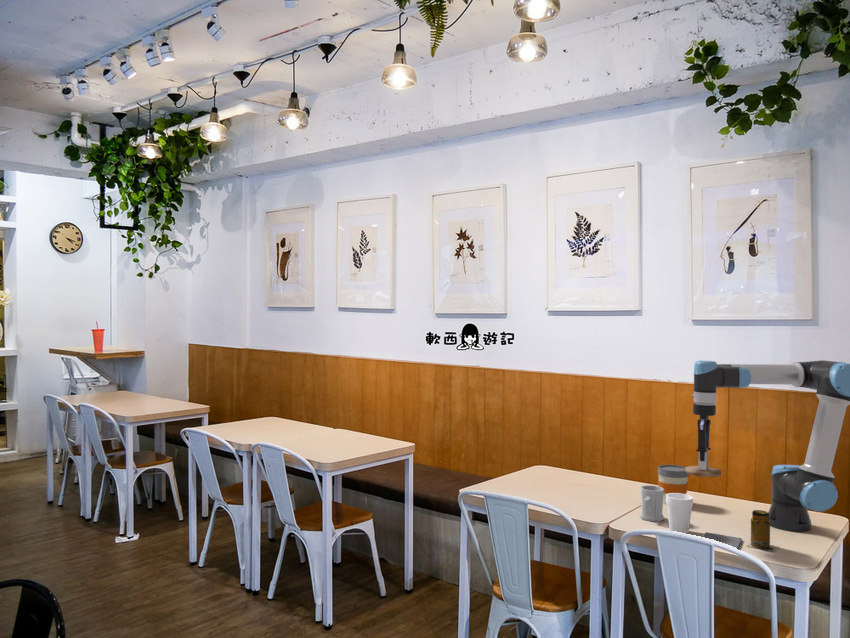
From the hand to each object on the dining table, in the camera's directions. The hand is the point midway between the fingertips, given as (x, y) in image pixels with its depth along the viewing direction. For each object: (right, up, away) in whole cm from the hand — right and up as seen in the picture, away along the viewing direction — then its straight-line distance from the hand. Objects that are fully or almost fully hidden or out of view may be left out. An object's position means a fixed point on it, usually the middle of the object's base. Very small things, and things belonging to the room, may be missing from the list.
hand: (703, 468), depth 242 cm
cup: (-11, -25, +22) cm, 35 cm away
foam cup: (-6, -25, +7) cm, 27 cm away
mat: (+5, -25, -4) cm, 26 cm away
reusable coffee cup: (+5, -25, +44) cm, 51 cm away
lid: (0, -2, 0) cm, 2 cm away
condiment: (+17, -25, -9) cm, 32 cm away
